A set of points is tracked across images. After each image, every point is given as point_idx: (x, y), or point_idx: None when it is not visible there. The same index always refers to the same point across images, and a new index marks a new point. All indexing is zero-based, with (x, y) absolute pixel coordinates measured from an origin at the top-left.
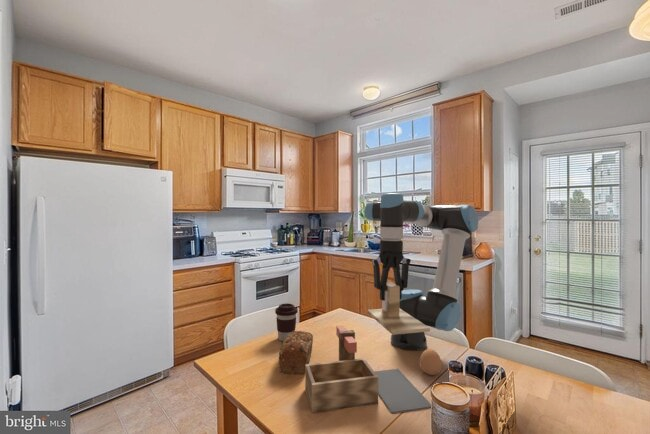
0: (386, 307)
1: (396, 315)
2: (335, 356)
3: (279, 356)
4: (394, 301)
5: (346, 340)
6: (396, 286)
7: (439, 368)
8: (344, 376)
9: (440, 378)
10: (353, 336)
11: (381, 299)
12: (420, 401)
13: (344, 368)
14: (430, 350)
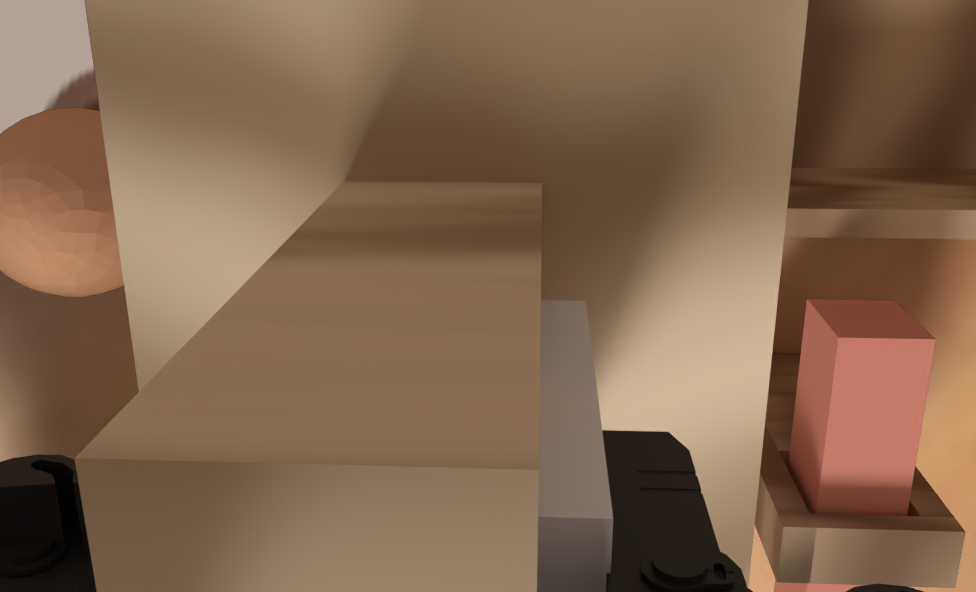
0: (565, 324)
1: (399, 187)
2: (768, 586)
3: None
4: (405, 268)
5: (918, 419)
6: (227, 457)
7: (40, 112)
8: (906, 181)
9: (72, 101)
10: (788, 501)
11: (682, 452)
12: None
13: (935, 195)
14: (24, 224)
